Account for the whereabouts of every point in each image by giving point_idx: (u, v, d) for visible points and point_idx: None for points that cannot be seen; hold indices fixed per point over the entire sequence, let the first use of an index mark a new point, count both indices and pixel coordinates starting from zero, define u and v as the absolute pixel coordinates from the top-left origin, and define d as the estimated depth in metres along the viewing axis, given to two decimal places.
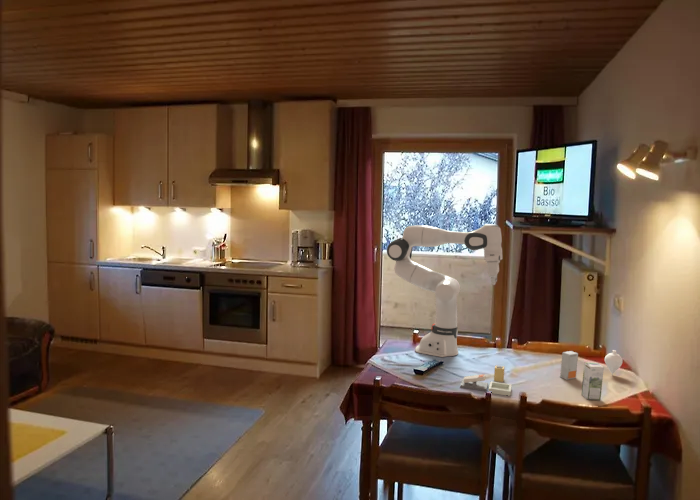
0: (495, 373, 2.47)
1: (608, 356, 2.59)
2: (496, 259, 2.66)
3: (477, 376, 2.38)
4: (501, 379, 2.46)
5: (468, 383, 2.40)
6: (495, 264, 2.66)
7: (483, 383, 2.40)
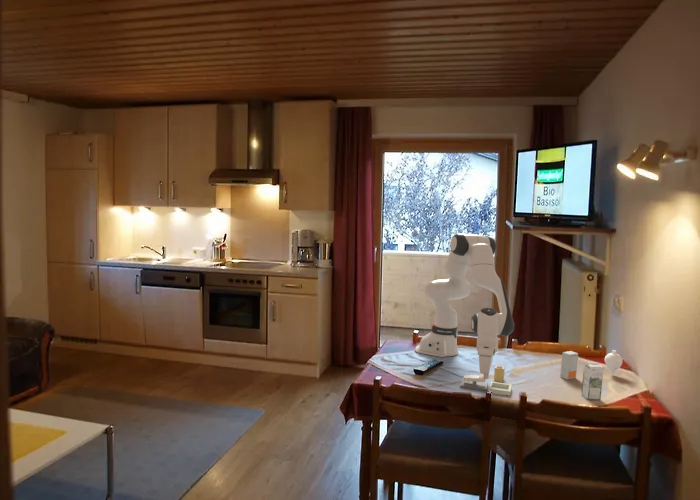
0: (495, 373, 2.47)
1: (608, 356, 2.59)
2: (490, 354, 2.27)
3: (477, 377, 2.38)
4: (501, 379, 2.46)
5: (468, 383, 2.40)
6: (489, 360, 2.27)
7: (483, 383, 2.40)
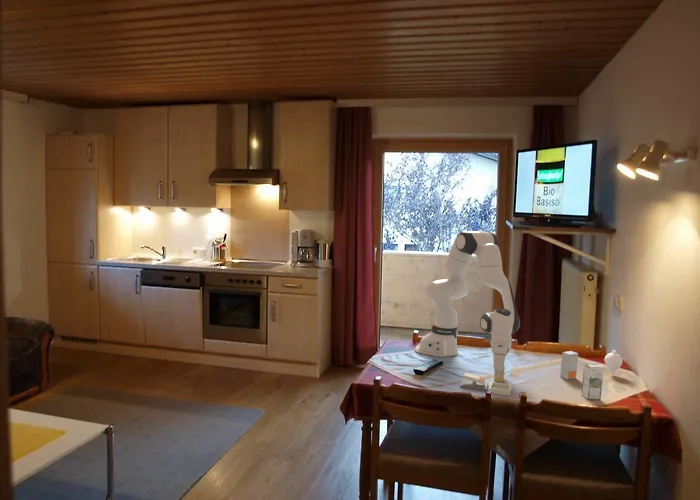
0: (495, 373, 2.47)
1: (608, 356, 2.59)
2: (504, 352, 2.38)
3: (478, 377, 2.38)
4: (501, 379, 2.46)
5: (468, 383, 2.40)
6: (503, 358, 2.38)
7: None
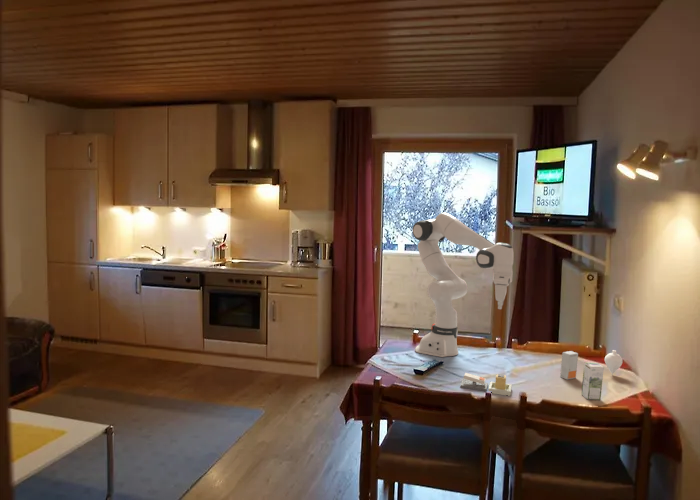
0: (496, 382, 2.33)
1: (608, 356, 2.59)
2: (506, 282, 2.47)
3: (478, 377, 2.38)
4: None
5: (468, 383, 2.40)
6: (504, 288, 2.46)
7: None
